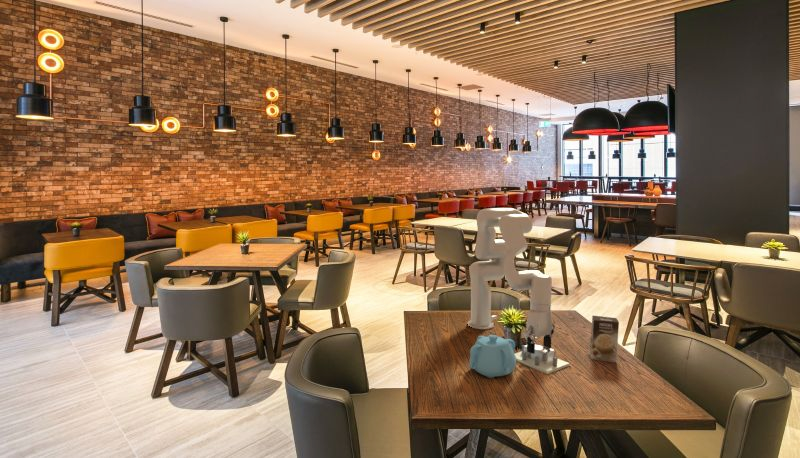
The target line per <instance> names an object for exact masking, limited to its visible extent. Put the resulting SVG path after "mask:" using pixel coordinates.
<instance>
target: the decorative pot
mask: <svg viewBox="0 0 800 458" xmlns="http://www.w3.org/2000/svg"><path fill="white" fill-rule="evenodd" d="M474 343H475V344H474V345H472V346H471V348H470V349H469V354H470V358H469V363H468V366H469V369H472V370H475V372H477V373H479V374H480V375H483V376H485V377H487V378H488V379H493V378H495V377H503V376H508V375H509V374H511V373H512V372H513V371H514V370H515V368H516V366H517V361H516V357H515V355H514V354H515V348H516V343H515V341H514V340H512V339H510V338H506V339H505V338H503V337H501V336H498V335H495V334H490V335H488V336H485V335H479V336H478V337H477V338H476V342H474Z"/></svg>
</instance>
